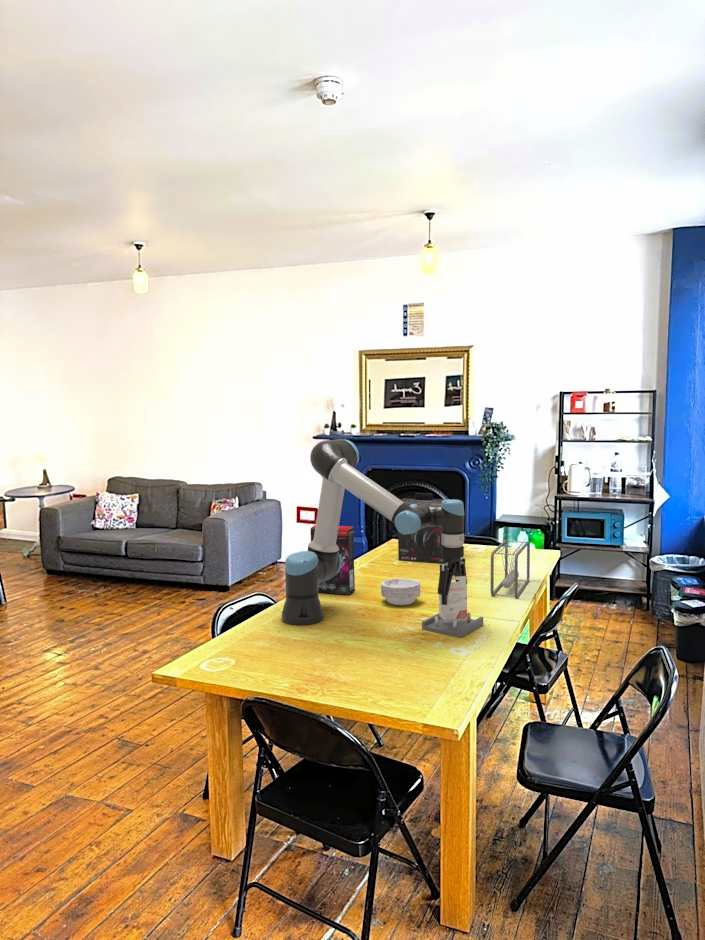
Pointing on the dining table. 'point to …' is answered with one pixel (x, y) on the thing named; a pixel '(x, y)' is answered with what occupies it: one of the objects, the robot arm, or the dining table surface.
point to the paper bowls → (400, 591)
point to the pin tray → (452, 625)
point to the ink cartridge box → (456, 599)
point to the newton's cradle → (513, 574)
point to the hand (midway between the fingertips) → (452, 609)
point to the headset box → (421, 537)
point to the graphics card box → (345, 576)
